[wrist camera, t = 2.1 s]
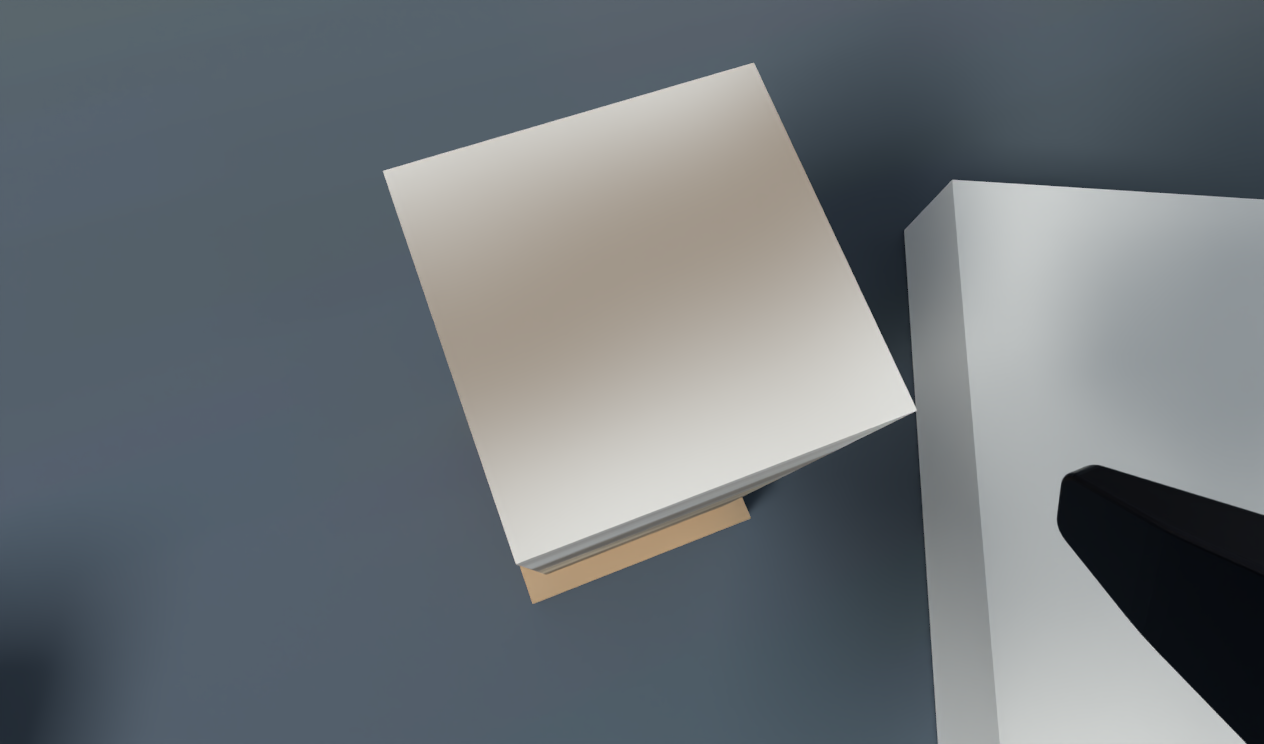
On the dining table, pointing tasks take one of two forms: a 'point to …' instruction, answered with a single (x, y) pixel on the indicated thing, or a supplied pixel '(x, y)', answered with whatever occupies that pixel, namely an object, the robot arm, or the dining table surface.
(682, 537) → the beige tall block
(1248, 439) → the dock
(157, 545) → the dining table surface
